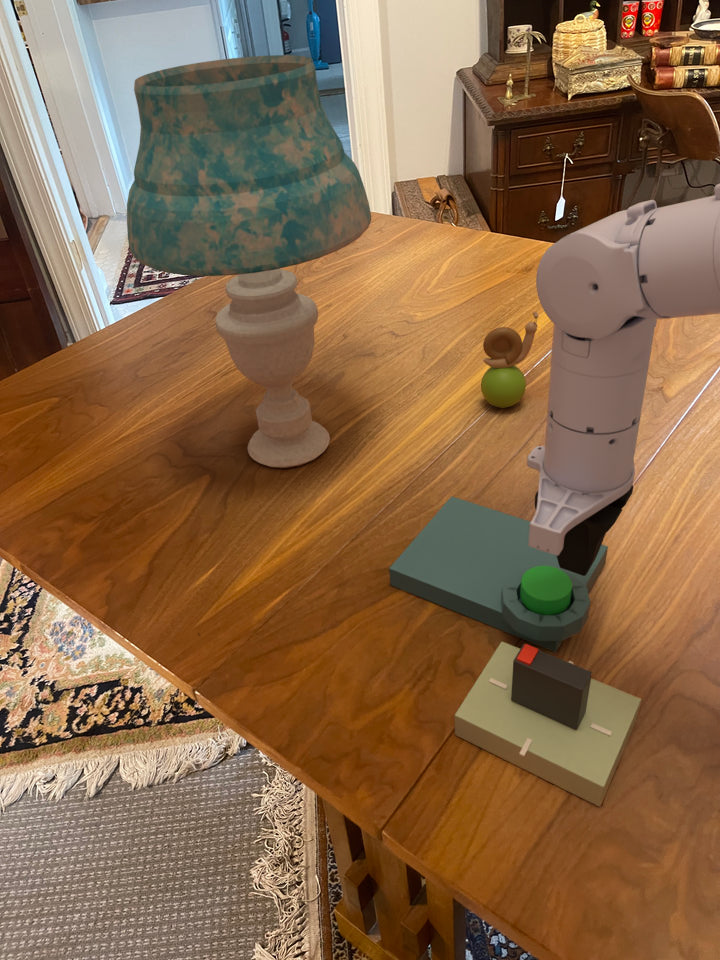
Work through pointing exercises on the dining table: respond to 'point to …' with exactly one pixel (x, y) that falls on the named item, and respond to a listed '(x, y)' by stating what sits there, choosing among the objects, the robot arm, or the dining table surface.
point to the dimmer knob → (550, 686)
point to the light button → (545, 590)
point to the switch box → (489, 572)
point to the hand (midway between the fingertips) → (575, 566)
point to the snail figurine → (506, 364)
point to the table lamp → (248, 216)
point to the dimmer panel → (548, 730)
